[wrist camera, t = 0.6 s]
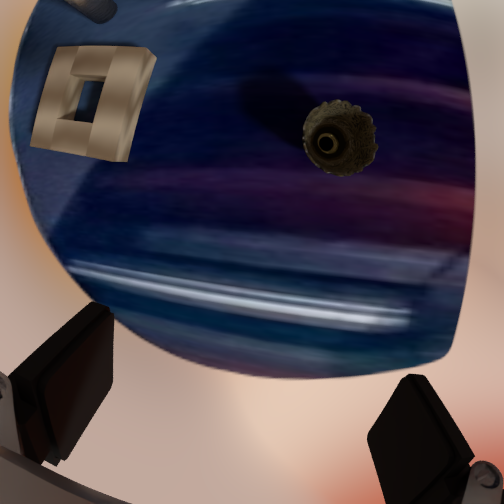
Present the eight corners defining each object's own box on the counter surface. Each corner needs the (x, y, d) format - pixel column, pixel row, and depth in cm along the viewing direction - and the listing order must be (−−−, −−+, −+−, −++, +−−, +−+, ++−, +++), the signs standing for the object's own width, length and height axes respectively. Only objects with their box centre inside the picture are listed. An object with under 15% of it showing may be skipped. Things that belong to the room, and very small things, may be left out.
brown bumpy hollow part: (356, 175, 36) (379, 178, 28) (295, 174, 36) (304, 175, 28) (355, 115, 34) (377, 102, 26) (294, 112, 34) (301, 97, 26)
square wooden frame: (72, 54, 32) (57, 46, 28) (156, 57, 33) (145, 47, 29) (46, 146, 36) (29, 146, 32) (127, 161, 36) (113, 161, 32)
